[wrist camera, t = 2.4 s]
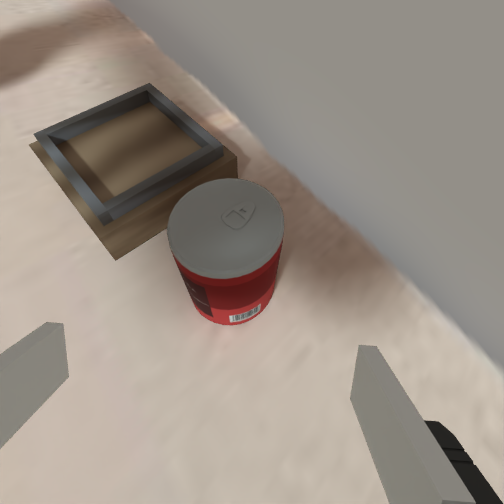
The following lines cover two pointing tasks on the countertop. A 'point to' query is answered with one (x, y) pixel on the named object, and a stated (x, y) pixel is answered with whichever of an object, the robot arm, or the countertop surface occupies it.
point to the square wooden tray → (131, 164)
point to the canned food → (227, 247)
